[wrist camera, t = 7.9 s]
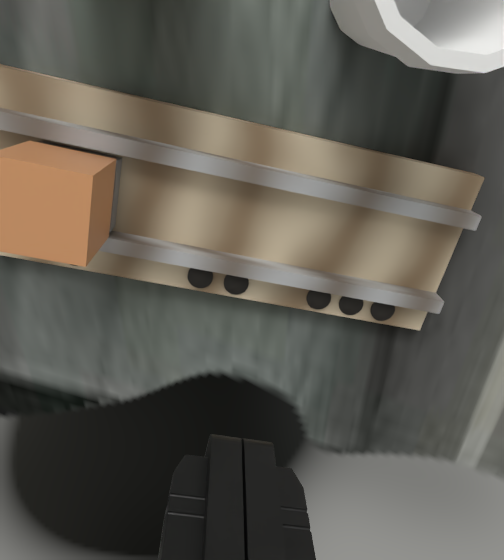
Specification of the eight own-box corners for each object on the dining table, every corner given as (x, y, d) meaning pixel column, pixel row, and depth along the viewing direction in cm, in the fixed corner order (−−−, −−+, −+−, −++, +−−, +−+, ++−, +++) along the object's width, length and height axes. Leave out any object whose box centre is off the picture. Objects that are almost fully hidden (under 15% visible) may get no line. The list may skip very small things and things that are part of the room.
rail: (-6, 244, 32) (-28, 260, 29) (-7, 62, 28) (-33, 61, 25) (412, 320, 36) (427, 340, 33) (473, 173, 32) (496, 182, 29)
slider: (38, 214, 30) (-12, 249, 24) (40, 137, 28) (-13, 153, 22) (114, 229, 30) (85, 267, 24) (122, 154, 28) (93, 175, 22)
